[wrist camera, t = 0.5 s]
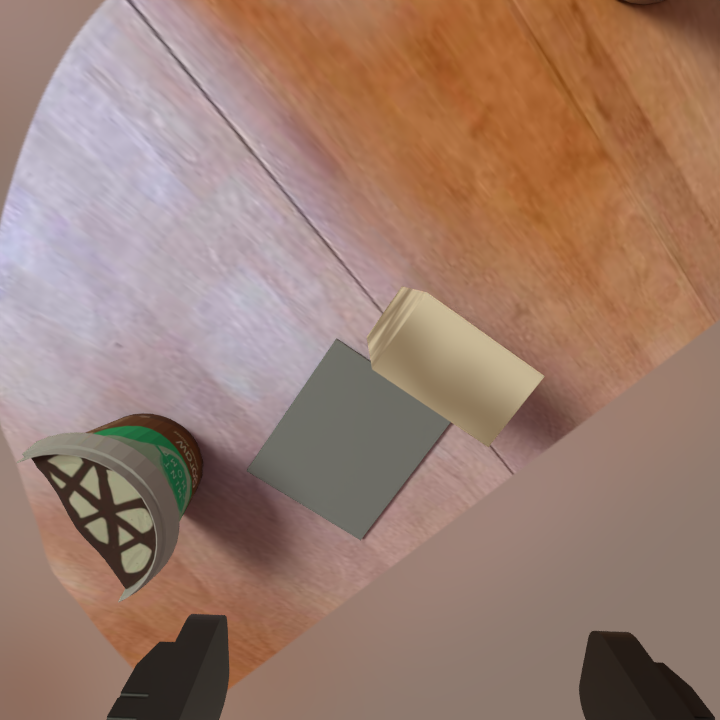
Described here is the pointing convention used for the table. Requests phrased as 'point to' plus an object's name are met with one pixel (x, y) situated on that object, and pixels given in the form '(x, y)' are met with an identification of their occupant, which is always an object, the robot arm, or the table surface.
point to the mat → (347, 442)
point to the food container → (125, 489)
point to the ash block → (449, 364)
